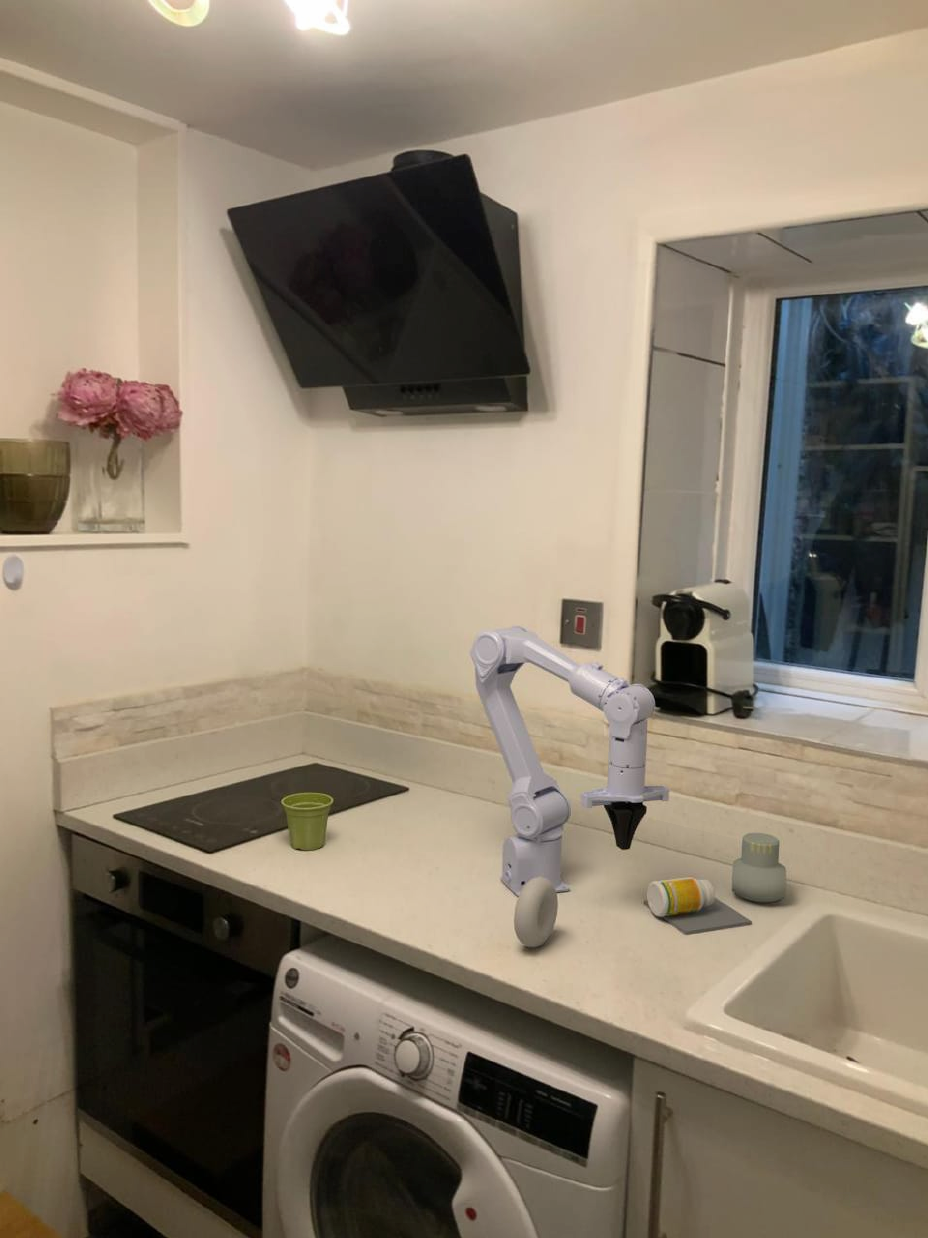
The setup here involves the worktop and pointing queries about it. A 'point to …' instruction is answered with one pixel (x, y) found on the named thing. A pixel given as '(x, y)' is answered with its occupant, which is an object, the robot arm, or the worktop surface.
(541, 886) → the donut
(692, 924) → the mat
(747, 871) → the air freshener
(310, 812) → the plant pot
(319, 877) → the worktop surface
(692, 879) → the supplement bottle
